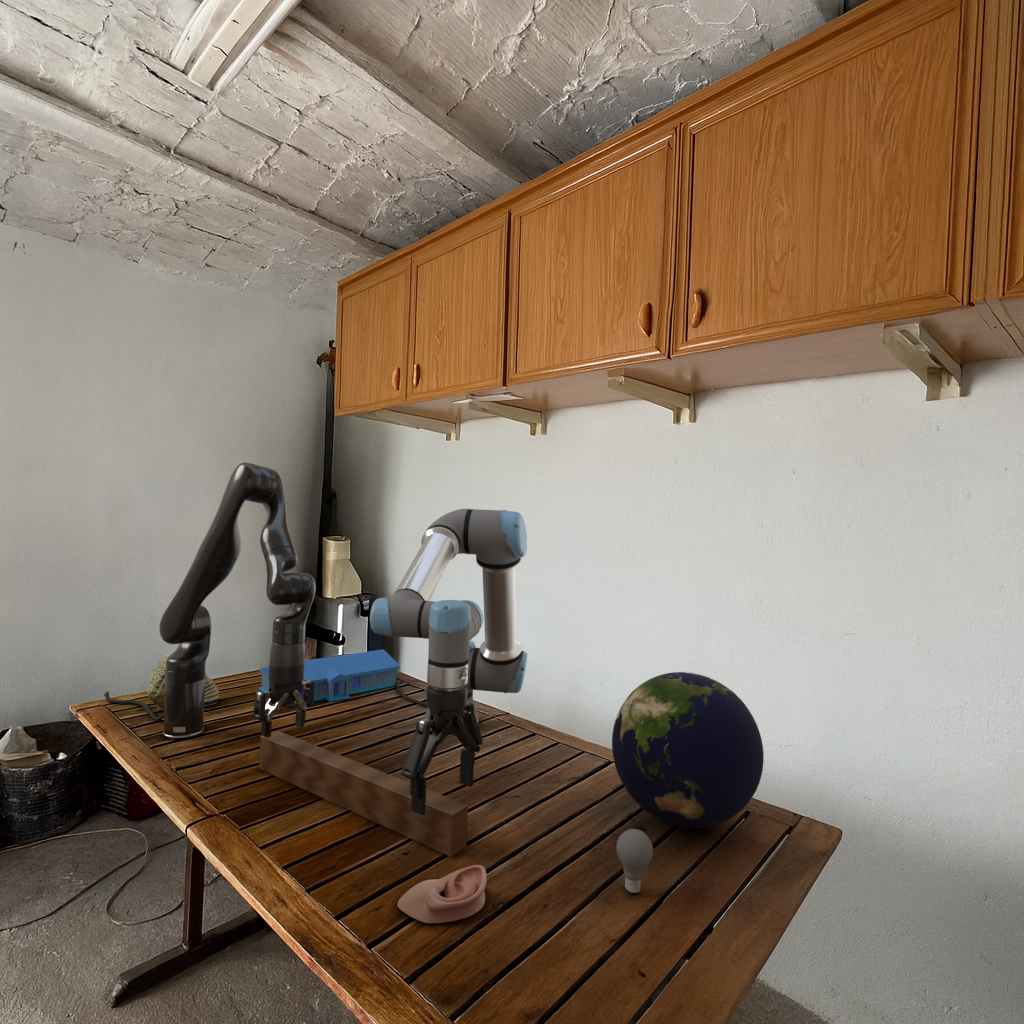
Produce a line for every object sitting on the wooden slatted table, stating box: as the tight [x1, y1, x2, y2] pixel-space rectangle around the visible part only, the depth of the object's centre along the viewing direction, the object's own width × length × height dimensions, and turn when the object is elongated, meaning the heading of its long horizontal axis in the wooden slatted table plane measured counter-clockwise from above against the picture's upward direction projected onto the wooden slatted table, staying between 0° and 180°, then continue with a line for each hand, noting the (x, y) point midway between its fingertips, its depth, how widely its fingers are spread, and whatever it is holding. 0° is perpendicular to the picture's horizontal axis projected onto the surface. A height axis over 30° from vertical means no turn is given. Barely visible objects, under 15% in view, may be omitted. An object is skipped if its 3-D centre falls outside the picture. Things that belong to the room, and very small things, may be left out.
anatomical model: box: [396, 864, 488, 925], centre depth 101 cm, size 13×4×12 cm
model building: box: [258, 649, 401, 708], centre depth 208 cm, size 39×24×10 cm, turn 132°
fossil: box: [147, 654, 221, 712], centre depth 185 cm, size 9×18×15 cm, turn 132°
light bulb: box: [615, 828, 654, 894], centre depth 106 cm, size 6×6×10 cm
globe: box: [611, 671, 765, 829], centre depth 130 cm, size 30×30×30 cm
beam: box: [258, 730, 469, 857], centre depth 132 cm, size 57×5×8 cm, turn 56°
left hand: (283, 731), depth 144 cm, fingers open, 8 cm apart
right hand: (443, 797), depth 118 cm, fingers open, 13 cm apart
